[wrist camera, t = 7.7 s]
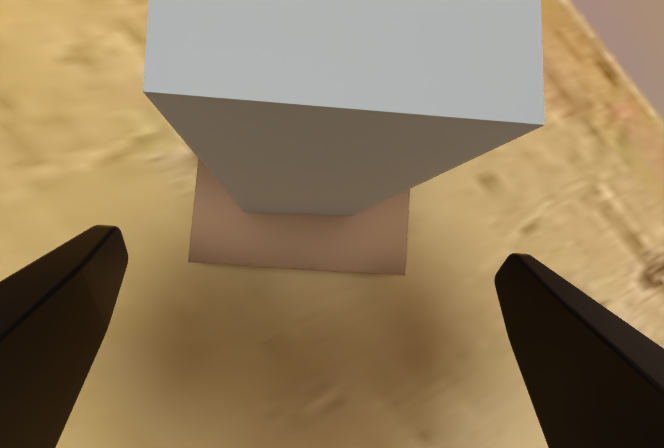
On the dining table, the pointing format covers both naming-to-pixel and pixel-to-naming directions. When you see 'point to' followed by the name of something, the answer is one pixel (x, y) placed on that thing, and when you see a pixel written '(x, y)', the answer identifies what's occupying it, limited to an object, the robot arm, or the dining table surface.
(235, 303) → the dining table surface
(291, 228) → the walnut slab
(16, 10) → the dining table surface
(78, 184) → the dining table surface
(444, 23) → the gray block
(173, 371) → the dining table surface
